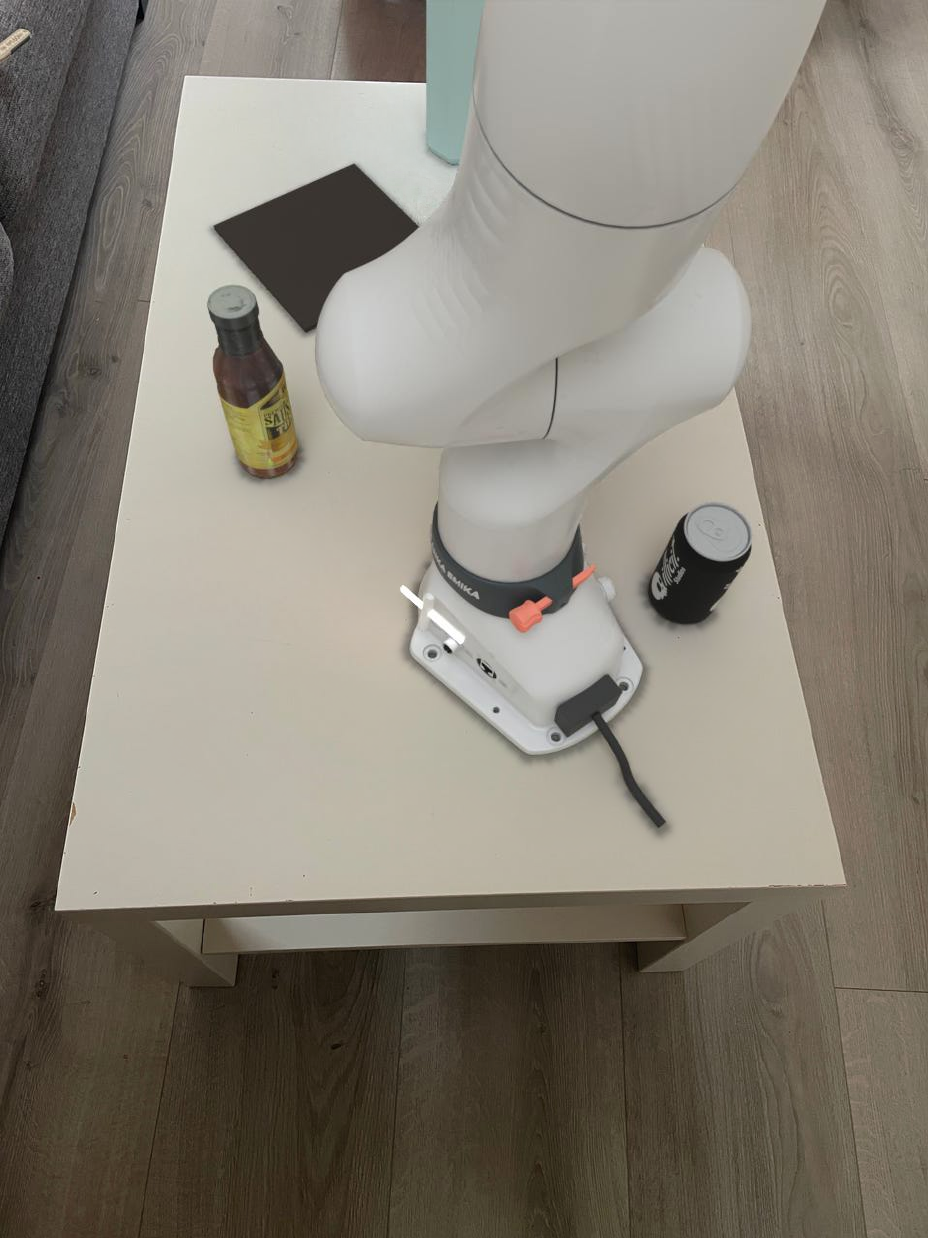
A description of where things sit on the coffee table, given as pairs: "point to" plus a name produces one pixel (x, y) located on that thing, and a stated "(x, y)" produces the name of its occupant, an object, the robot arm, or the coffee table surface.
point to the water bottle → (450, 72)
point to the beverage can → (700, 562)
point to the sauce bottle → (251, 385)
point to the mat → (316, 238)
